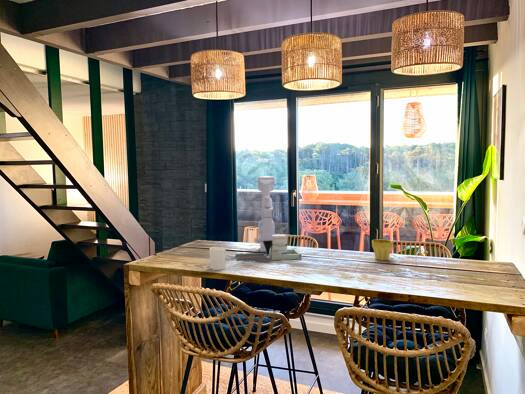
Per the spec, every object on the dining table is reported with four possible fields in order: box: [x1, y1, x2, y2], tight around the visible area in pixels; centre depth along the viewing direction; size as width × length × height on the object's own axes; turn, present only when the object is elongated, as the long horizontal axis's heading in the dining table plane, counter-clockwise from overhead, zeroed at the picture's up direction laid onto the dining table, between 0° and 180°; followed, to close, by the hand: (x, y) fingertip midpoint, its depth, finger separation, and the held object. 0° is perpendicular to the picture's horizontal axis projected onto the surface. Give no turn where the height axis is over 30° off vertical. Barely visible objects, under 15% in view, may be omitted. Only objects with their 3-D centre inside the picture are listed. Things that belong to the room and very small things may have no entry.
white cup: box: [209, 246, 226, 271], centre depth 196 cm, size 8×8×10 cm
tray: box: [268, 248, 302, 261], centre depth 222 cm, size 14×16×2 cm
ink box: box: [270, 234, 288, 257], centre depth 222 cm, size 8×5×12 cm, turn 99°
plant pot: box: [371, 238, 393, 261], centre depth 214 cm, size 10×10×10 cm
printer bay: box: [234, 252, 268, 261], centre depth 219 cm, size 9×16×2 cm, turn 98°
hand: (267, 254), depth 220 cm, fingers closed
